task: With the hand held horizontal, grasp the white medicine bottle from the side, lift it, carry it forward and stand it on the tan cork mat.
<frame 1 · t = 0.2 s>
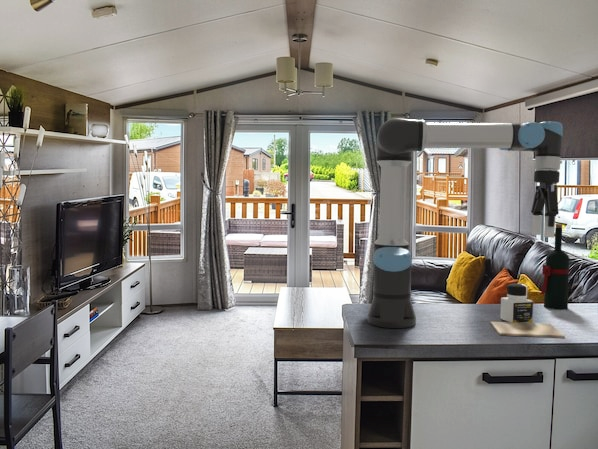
hand: (542, 236, 184), 27 cm above the table, tool pointing down, fingers open, 13 cm apart
wine bottle: (552, 308, 203), on the table
medicine bottle: (516, 321, 183), on the table
cork mat: (525, 330, 171), on the table
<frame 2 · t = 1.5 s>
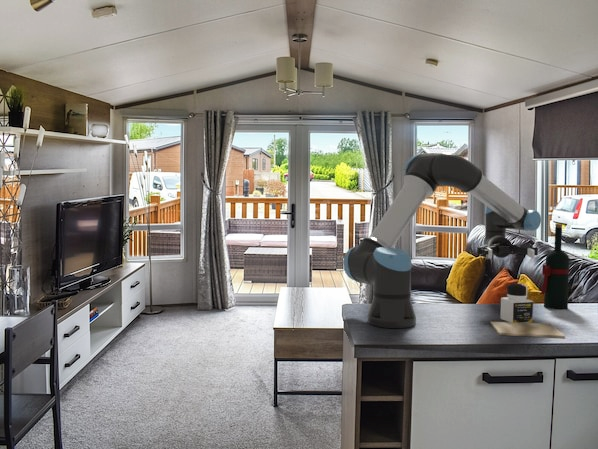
hand: (512, 254, 190), 21 cm above the table, tool horizontal, fingers open, 13 cm apart
nothing on the table moved.
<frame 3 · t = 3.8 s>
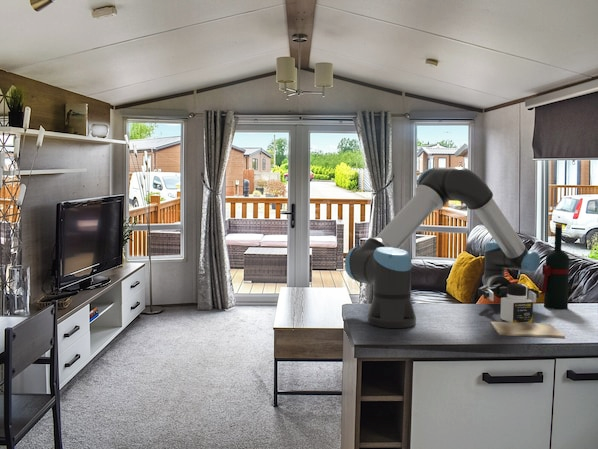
hand: (513, 297, 188), 6 cm above the table, tool horizontal, fingers open, 13 cm apart
nothing on the table moved.
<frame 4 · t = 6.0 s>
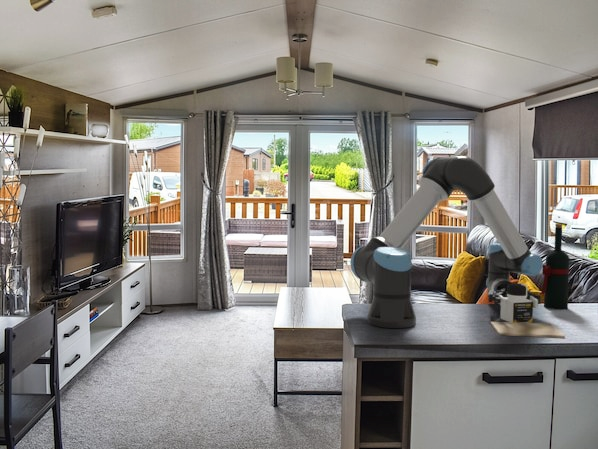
hand: (520, 303, 178), 7 cm above the table, tool horizontal, fingers closed on medicine bottle, 9 cm apart
medicine bottle: (516, 321, 183), on the table, touching gripper
everything else where it was.
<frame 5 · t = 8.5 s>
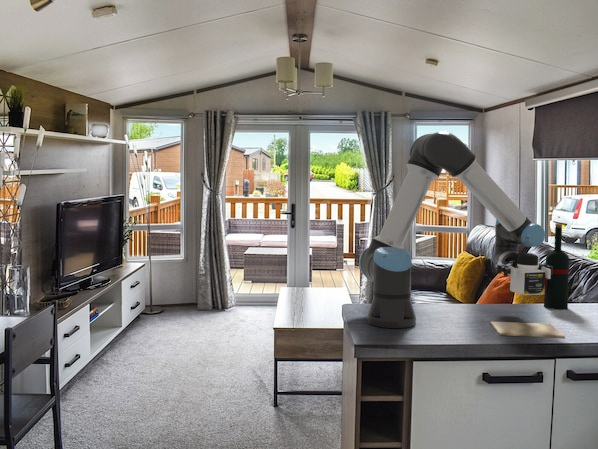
hand: (532, 273, 166), 18 cm above the table, tool horizontal, fingers closed on medicine bottle, 9 cm apart
medicine bottle: (526, 293, 171), point 11 cm above the table, touching gripper
everything else where it was.
when the fingers open (9 cm above the table, at t = 10.9 s): medicine bottle drops 1 cm, resting on cork mat.
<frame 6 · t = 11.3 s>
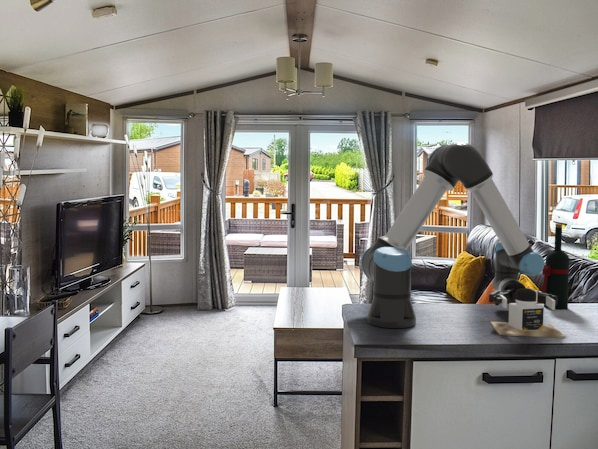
hand: (529, 304, 167), 9 cm above the table, tool horizontal, fingers open, 13 cm apart
medicine bottle: (525, 328, 171), resting on cork mat
everything else where it was.
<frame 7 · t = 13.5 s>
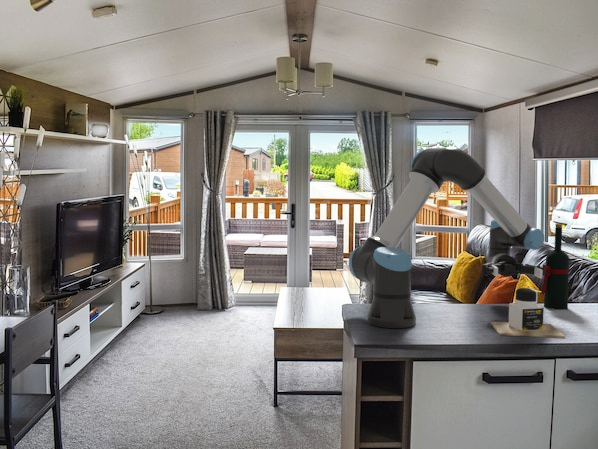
hand: (518, 273, 181), 16 cm above the table, tool horizontal, fingers open, 13 cm apart
nothing on the table moved.
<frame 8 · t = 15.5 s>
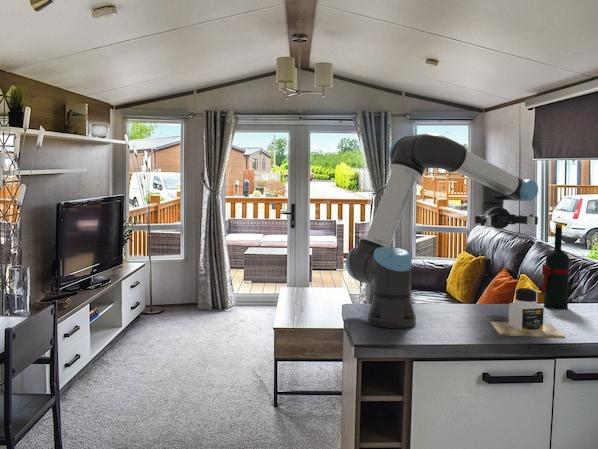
hand: (511, 221, 182), 32 cm above the table, tool horizontal, fingers open, 13 cm apart
nothing on the table moved.
at the end: medicine bottle inside the target area on the cork mat (0.1 cm from its centre), point 0.4 cm above the cork mat's base; medicine bottle tilted 0°; the gripper is holding nothing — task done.
